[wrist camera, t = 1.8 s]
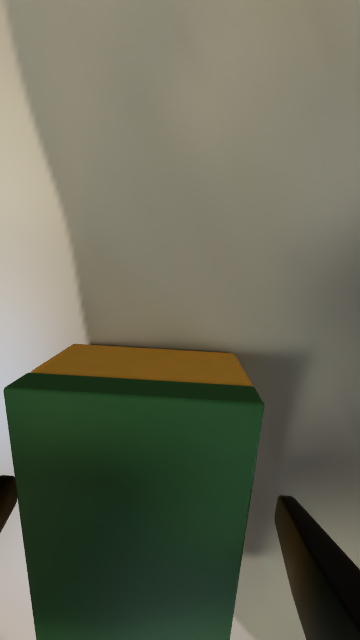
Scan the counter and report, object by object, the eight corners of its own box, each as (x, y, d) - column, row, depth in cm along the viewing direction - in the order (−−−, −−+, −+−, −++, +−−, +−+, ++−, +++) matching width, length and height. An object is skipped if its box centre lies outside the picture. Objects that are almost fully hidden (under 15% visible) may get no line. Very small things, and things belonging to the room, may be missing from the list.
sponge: (212, 552, 9) (224, 679, 6) (84, 543, 9) (38, 664, 7) (234, 352, 7) (265, 404, 5) (72, 343, 8) (1, 388, 5)
